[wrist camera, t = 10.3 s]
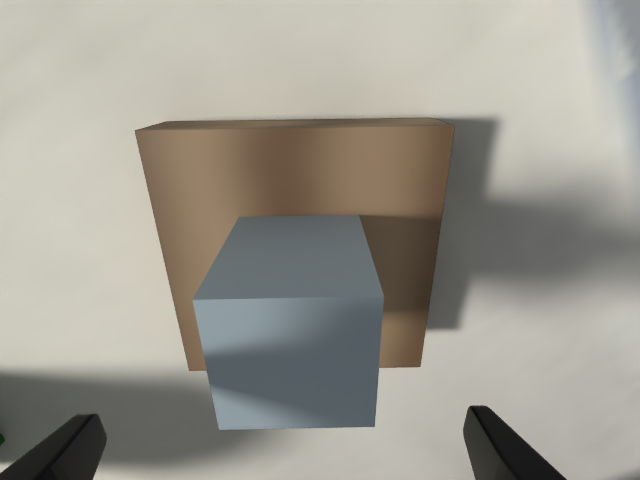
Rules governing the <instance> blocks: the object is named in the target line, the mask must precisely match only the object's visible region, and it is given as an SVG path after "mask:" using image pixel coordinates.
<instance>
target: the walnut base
mask: <svg viewBox="0 0 640 480" xmlns="http://www.w3.org/2000/svg"><path fill="white" fill-rule="evenodd" d="M454 129H455V126H453V125H451V124H448V123H445V122H442V121H439V120H436V119H433V118H381V119H311V120H240V121H170V122H163V123H159V124H156V125H152V126H149V127H145V128H142V129H138V130H135V134H136V139H137V143H138V148H139V152H140V156H141V161H142V165H143V170H144V174H145V178H146V183H147V187H148V192H149V196H150V200H151V205H152V209H153V214H154V218H155V222H156V227H157V231H158V236H159V240H160V244H161V249H162V253H163V258H164V262H165V266H166V271H167V275H168V280H169V284H170V288H171V293H172V297H173V302H174V306H175V310H176V315H177V319H178V324H179V328H180V332H181V337H182V341H183V346H184V350H185V354H186V359H187V363H188V368H189V371H207V369H206V364H205V359H204V354H203V350H202V345H201V340H200V335H199V330H198V325H197V320H196V315H195V311H194V306H193V301H192V300H193V298H194V296H195V294H196V292H197V291H198V289H199V287H200V285H201V284H202V282H203V280H204V278H205V276H206V275H207V273H208V271H209V269H210V267H211V266H212V264H213V262H214V260H215V259H216V257H217V255H218V253H219V251H220V250H221V248H222V246H223V244H224V242H225V241H226V239H227V237H228V235H229V234H230V232H231V230H232V228H233V226H234V225H235V223H236V221H237V219H238V217H262V216H313V215H359V217H360V220H361V224H362V227H363V230H364V233H365V236H366V240H367V243H368V246H369V249H370V253H371V256H372V259H373V262H374V265H375V269H376V272H377V275H378V278H379V282H380V285H381V288H382V291H383V295H384V303H383V317H382V331H381V345H380V359H379V368H396V367H420V365H421V358H422V351H423V345H424V338H425V331H426V324H427V317H428V310H429V303H430V296H431V289H432V282H433V275H434V268H435V261H436V254H437V247H438V240H439V233H440V226H441V219H442V212H443V205H444V198H445V191H446V184H447V178H448V171H449V164H450V157H451V150H452V143H453V136H454Z"/></svg>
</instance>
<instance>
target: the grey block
mask: <svg viewBox="0 0 640 480" xmlns="http://www.w3.org/2000/svg"><path fill="white" fill-rule="evenodd" d="M192 301H193V306H194V311H195V315H196V320H197V325H198V330H199V335H200V340H201V345H202V350H203V354H204V359H205V364H206V369H207V374H208V379H209V384H210V388H211V393H212V398H213V403H214V408H215V413H216V418H217V423H218V427H219V430H239V429H289V428H338V427H375V415H376V401H377V387H378V373H379V359H380V345H381V331H382V317H383V303H384V295H383V291H382V288H381V285H380V282H379V278H378V275H377V272H376V269H375V265H374V262H373V259H372V256H371V253H370V249H369V246H368V243H367V240H366V236H365V233H364V230H363V227H362V224H361V220H360V217H359V215H313V216H262V217H238V219H237V221H236V223H235V225H234V226H233V228H232V230H231V232H230V234H229V235H228V237H227V239H226V241H225V242H224V244H223V246H222V248H221V250H220V251H219V253H218V255H217V257H216V259H215V260H214V262H213V264H212V266H211V267H210V269H209V271H208V273H207V275H206V276H205V278H204V280H203V282H202V284H201V285H200V287H199V289H198V291H197V292H196V294H195V296H194V298H193V300H192Z"/></svg>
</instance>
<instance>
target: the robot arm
mask: <svg viewBox="0 0 640 480" xmlns="http://www.w3.org/2000/svg"><path fill="white" fill-rule="evenodd" d="M463 435H464V440H465V443H466V447H467V451H468V454H469V458H470V461H471V465H472V469H473V472H474V476H475V479H476V480H567V479H566V478H565V477H563V476H562V475H561V474H560V473H559V472H558V471H557V470H556V469H555V468H554V467H553V466H552V465H550V464H549V463H548V462H547V461H546V460H545V459H544V458H543V457H542V456H541V455H540V454H539V453H538V452H536V451H535V450H534V449H533V448H532V447H531V446H530V445H529V444H528V443H527V442H526V441H525V440H523V439H522V438H521V437H520V436H519V435H518V434H517V433H516V432H515V431H514V430H513V429H512V428H511V427H509V426H508V425H507V424H506V423H505V422H504V421H503V420H502V419H501V418H500V417H499V416H498V415H496V414H495V413H494V412H493V411H492V410H491V409H490V408H489V407H487V406H483V405H482V406H470V407H469V408H468V410H467V414H466V419H465V423H464V427H463ZM106 439H107V437H106V432H105V430H104V427H103V425H102V423H101V420H100V418H99V416H98V414H96V413H80V414H77V415H75V416H74V417H72V418H71V419H70V420H69V421H67V422H66V423H65V424H63V425H62V426H61V427H60V428H58V429H57V430H56V431H54V432H53V433H52V434H50V435H49V436H48V437H47V438H45V439H44V440H43V441H41V442H40V443H39V444H37V445H36V446H35V447H34V448H32V449H31V450H30V451H28V452H27V453H26V454H25V455H23V456H22V457H21V458H19V459H18V460H17V461H15V462H14V463H13V464H12V465H10V466H9V467H8V468H6V469H5V470H4V471H3V472H1V473H0V480H93V477H94V475H95V472H96V469H97V467H98V464H99V461H100V459H101V456H102V453H103V451H104V448H105V445H106Z"/></svg>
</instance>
